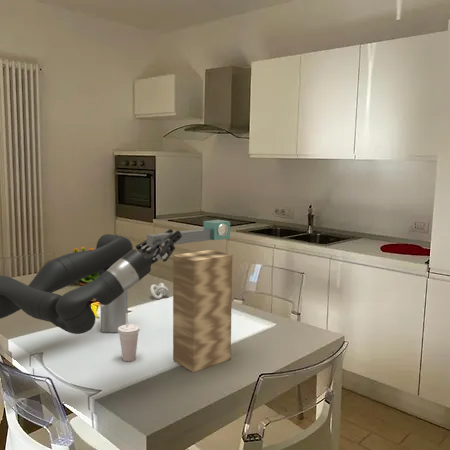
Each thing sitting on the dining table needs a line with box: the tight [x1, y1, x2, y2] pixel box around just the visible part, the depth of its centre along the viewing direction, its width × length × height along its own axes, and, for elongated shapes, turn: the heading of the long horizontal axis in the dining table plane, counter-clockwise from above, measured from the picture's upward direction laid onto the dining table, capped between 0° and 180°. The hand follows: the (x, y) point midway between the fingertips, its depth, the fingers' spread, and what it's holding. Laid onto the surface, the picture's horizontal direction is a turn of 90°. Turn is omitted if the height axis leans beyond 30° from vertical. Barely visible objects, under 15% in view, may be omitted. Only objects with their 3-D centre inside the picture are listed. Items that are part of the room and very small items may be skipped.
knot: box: [149, 282, 170, 300], centre depth 205 cm, size 8×8×6 cm
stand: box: [172, 249, 233, 373], centre depth 140 cm, size 14×10×32 cm
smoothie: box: [117, 313, 141, 362], centre depth 141 cm, size 6×6×14 cm
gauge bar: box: [146, 219, 231, 248], centre depth 133 cm, size 26×6×5 cm, turn 131°
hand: (175, 232), depth 131 cm, fingers closed on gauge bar, 3 cm apart
